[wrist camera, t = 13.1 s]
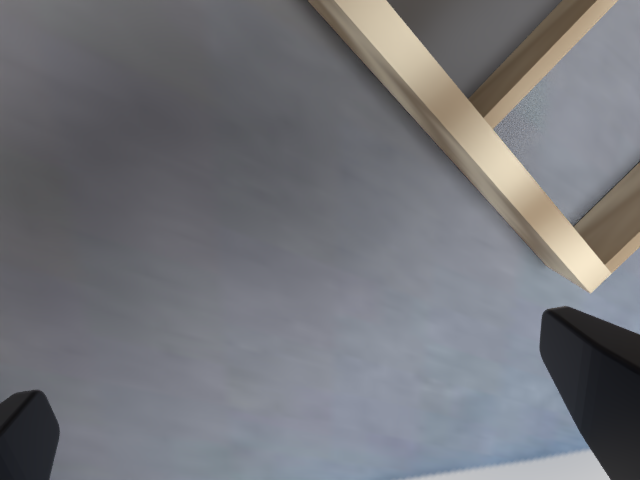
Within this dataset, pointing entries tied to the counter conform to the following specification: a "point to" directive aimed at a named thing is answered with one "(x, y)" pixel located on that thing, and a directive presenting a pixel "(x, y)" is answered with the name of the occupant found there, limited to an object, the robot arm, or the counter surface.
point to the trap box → (492, 107)
